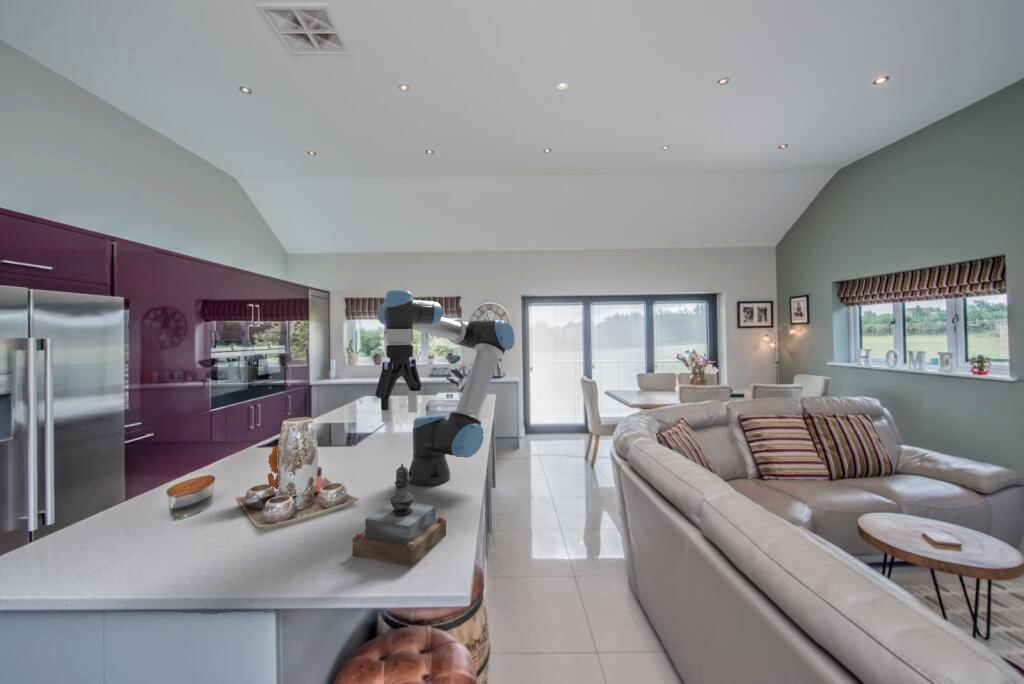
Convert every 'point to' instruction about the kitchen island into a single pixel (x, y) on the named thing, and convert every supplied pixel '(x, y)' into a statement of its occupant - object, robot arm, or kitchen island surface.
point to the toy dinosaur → (273, 468)
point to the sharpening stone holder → (400, 535)
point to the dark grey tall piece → (401, 494)
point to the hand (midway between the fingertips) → (400, 416)
